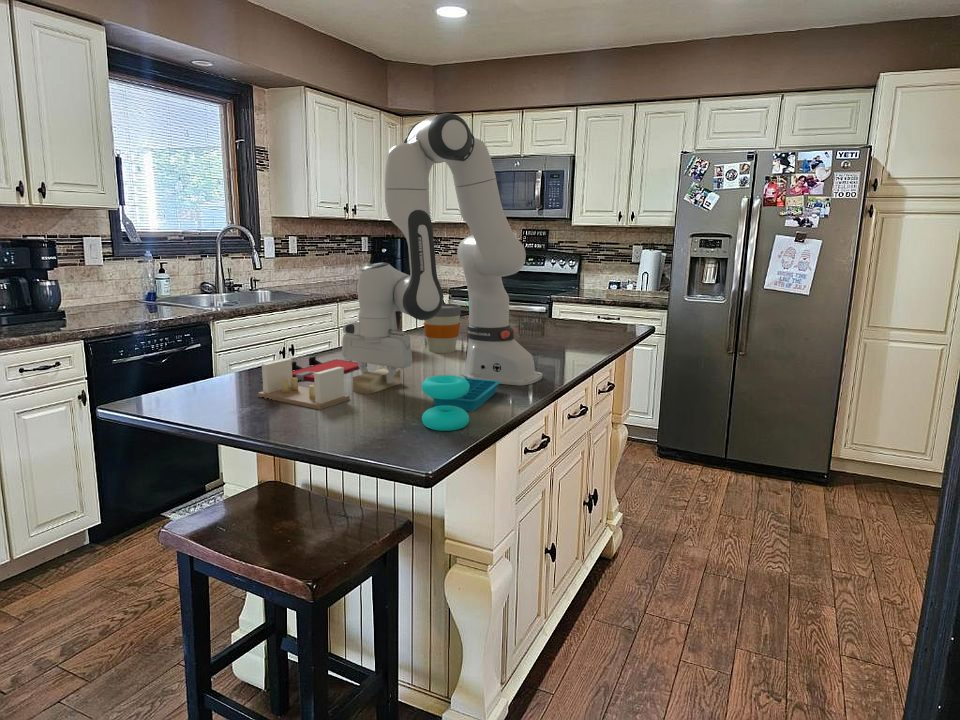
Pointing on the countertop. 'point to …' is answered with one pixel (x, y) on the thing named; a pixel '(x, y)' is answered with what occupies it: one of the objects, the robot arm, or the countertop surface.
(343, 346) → the robot arm
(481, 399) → the ice cube tray
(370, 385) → the tan wooden block
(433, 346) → the reusable coffee cup
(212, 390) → the countertop surface
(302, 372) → the red board with handle
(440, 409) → the donuts
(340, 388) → the cradle
